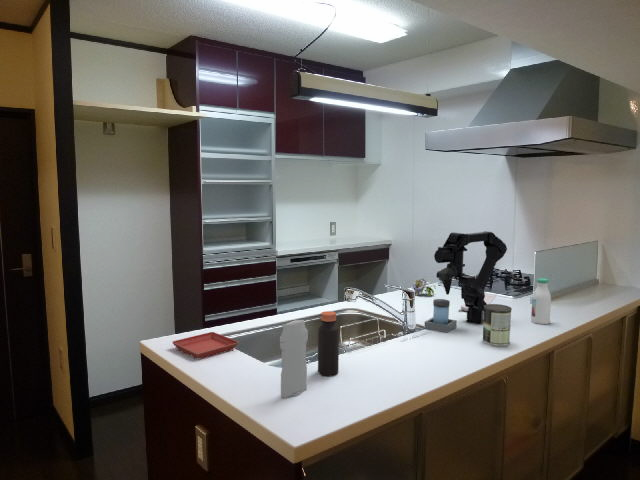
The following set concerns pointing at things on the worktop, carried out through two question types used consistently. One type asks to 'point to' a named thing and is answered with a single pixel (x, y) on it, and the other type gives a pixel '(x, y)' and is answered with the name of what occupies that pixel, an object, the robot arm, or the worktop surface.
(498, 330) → the coffee can
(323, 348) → the vinegar
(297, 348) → the tall pale column
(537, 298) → the milk bottle
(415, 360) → the worktop surface
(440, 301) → the blue-grey upright cylinder
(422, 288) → the passion flower
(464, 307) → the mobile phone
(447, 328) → the cartridge housing
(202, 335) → the plant saucer
